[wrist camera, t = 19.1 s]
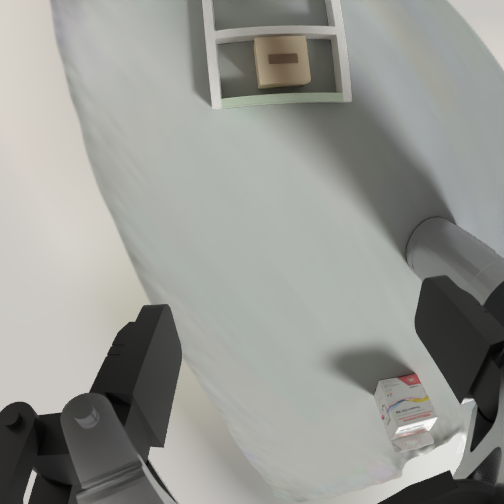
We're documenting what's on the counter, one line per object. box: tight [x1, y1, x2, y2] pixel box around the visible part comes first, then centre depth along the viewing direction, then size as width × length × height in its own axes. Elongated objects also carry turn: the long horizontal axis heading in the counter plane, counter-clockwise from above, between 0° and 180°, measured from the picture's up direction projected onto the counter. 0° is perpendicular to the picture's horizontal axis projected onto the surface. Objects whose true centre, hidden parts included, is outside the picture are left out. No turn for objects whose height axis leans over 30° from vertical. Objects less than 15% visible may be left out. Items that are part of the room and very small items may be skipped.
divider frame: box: [202, 0, 352, 110], centre depth 25 cm, size 15×25×2 cm, turn 5°
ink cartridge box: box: [374, 374, 438, 453], centre depth 44 cm, size 9×5×15 cm, turn 92°
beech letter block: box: [254, 36, 311, 89], centre depth 28 cm, size 5×5×5 cm
